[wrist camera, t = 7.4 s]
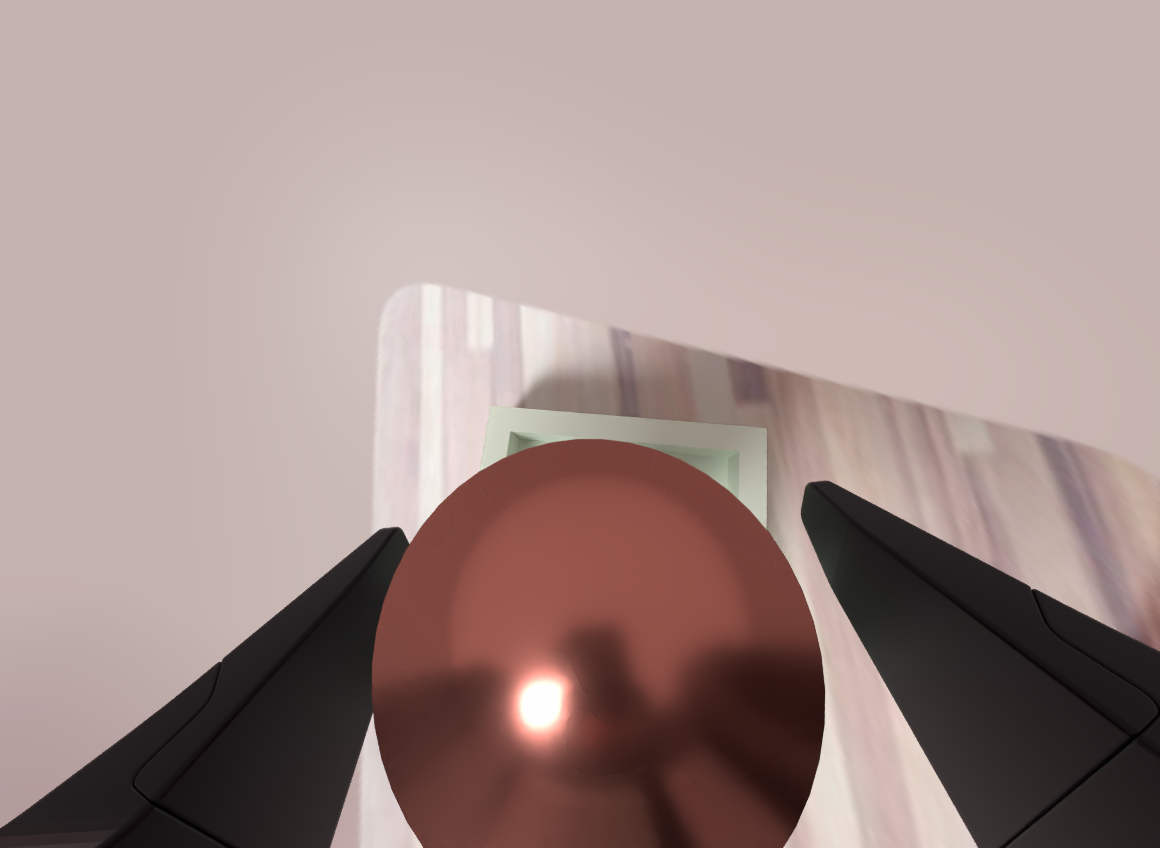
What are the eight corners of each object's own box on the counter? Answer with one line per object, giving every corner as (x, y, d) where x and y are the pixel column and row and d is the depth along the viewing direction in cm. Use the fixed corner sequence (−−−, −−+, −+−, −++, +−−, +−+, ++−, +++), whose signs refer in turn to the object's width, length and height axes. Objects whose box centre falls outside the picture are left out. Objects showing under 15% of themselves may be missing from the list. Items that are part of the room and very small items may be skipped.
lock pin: (687, 601, 16) (918, 860, 4) (575, 637, 16) (418, 1014, 4) (646, 488, 17) (714, 386, 5) (543, 522, 17) (341, 508, 5)
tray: (742, 722, 16) (765, 758, 13) (466, 678, 17) (441, 703, 15) (747, 440, 18) (766, 427, 16) (506, 420, 19) (490, 405, 17)
